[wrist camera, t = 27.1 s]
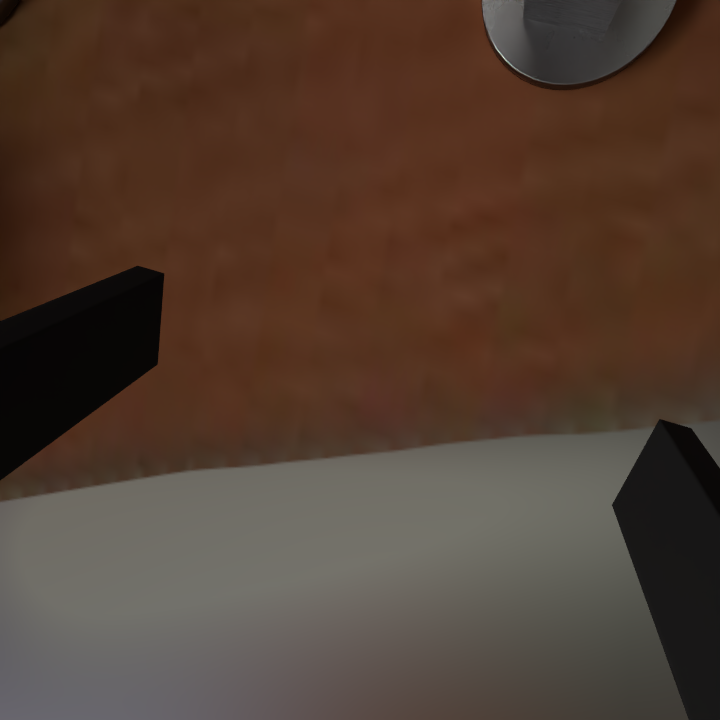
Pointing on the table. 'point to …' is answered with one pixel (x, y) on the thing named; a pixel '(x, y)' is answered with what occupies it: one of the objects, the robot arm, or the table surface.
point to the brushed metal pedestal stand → (571, 37)
